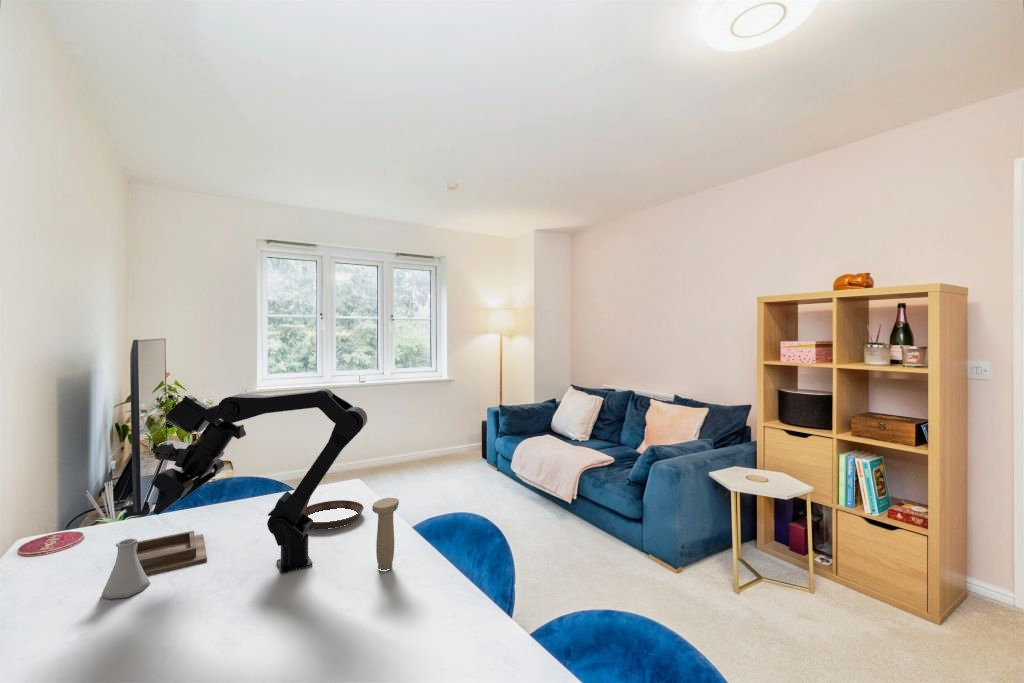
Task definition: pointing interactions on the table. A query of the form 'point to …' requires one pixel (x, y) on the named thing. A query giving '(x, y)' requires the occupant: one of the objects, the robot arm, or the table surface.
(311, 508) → the ring
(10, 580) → the table surface
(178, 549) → the holder
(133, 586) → the flask
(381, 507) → the handle
